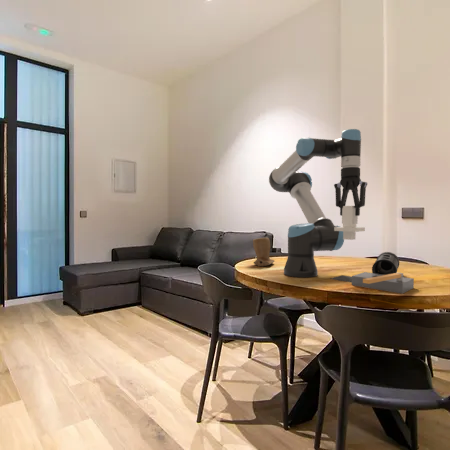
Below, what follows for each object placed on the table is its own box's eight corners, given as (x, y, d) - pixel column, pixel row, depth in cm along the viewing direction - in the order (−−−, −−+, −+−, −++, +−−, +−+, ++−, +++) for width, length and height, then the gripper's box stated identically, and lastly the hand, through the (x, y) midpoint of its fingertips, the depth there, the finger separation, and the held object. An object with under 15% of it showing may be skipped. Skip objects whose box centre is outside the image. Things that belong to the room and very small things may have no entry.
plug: (334, 239, 134) (334, 205, 134) (344, 238, 140) (344, 206, 140) (355, 240, 128) (355, 205, 127) (364, 239, 134) (365, 205, 133)
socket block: (351, 286, 124) (352, 272, 123) (364, 281, 132) (365, 268, 132) (402, 294, 111) (402, 279, 110) (413, 289, 119) (413, 274, 119)
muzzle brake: (370, 282, 130) (371, 257, 130) (376, 272, 155) (377, 250, 154) (397, 285, 126) (397, 259, 125) (399, 274, 150) (399, 252, 149)
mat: (330, 280, 135) (330, 278, 135) (342, 276, 143) (342, 275, 143) (355, 284, 127) (355, 282, 127) (367, 280, 135) (367, 278, 135)
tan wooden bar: (397, 275, 115) (397, 272, 115) (404, 276, 113) (404, 273, 113) (362, 282, 104) (362, 278, 104) (369, 283, 102) (369, 280, 102)
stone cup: (256, 262, 184) (256, 236, 184) (276, 263, 180) (276, 236, 179) (247, 266, 170) (248, 238, 170) (269, 267, 166) (269, 238, 165)
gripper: (327, 168, 137) (326, 223, 137) (367, 164, 124) (366, 224, 125) (335, 170, 142) (334, 223, 143) (375, 166, 129) (374, 224, 130)
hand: (349, 223), depth 134 cm, fingers closed on plug, 4 cm apart
